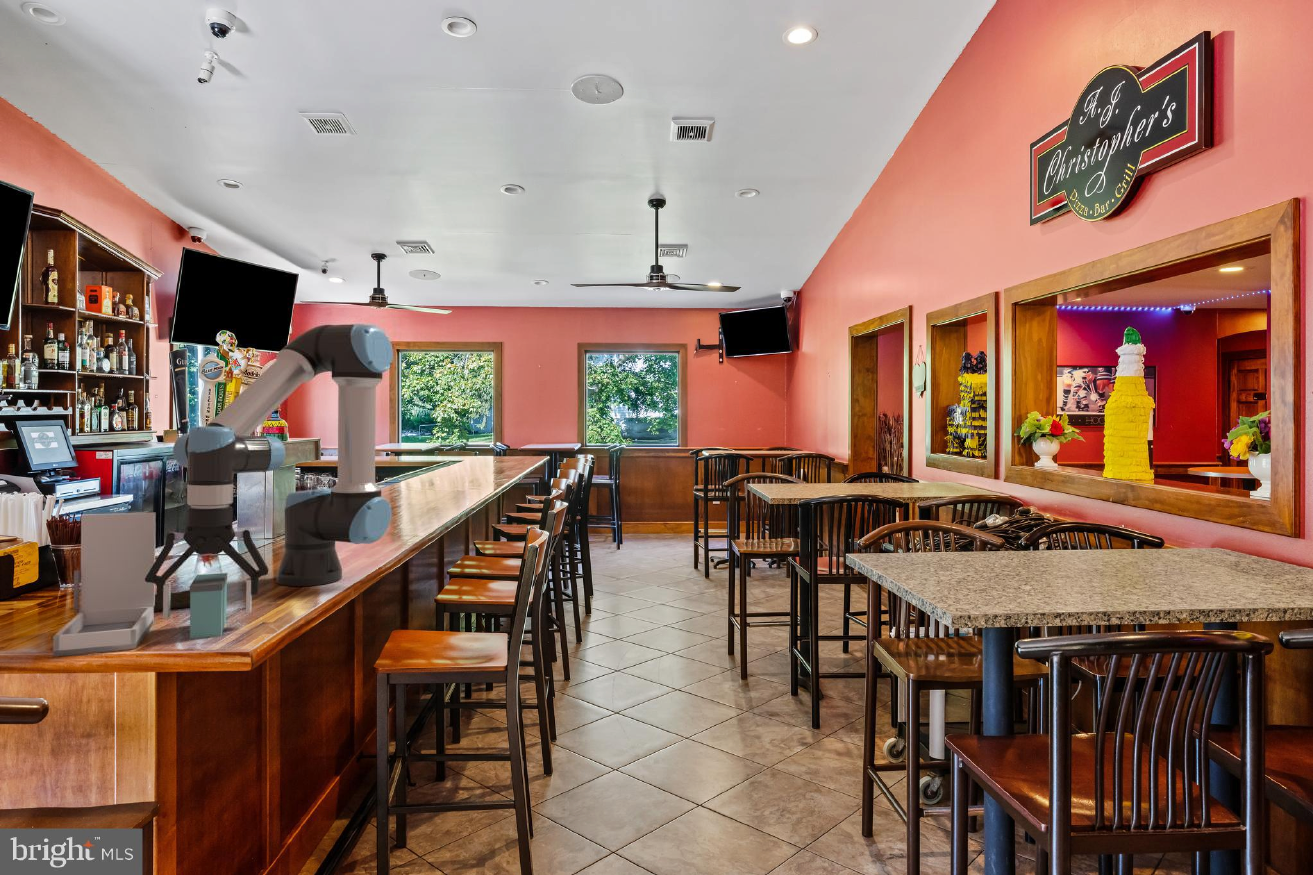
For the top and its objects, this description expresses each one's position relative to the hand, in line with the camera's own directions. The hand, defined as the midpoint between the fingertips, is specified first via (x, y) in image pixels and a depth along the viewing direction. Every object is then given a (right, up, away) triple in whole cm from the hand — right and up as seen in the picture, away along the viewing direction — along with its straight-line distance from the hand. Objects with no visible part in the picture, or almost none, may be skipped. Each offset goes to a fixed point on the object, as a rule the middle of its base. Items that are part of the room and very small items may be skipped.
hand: (208, 614), depth 139 cm
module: (0, -3, 0) cm, 3 cm away
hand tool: (-17, -3, +12) cm, 21 cm away
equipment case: (-14, -3, -7) cm, 16 cm away
